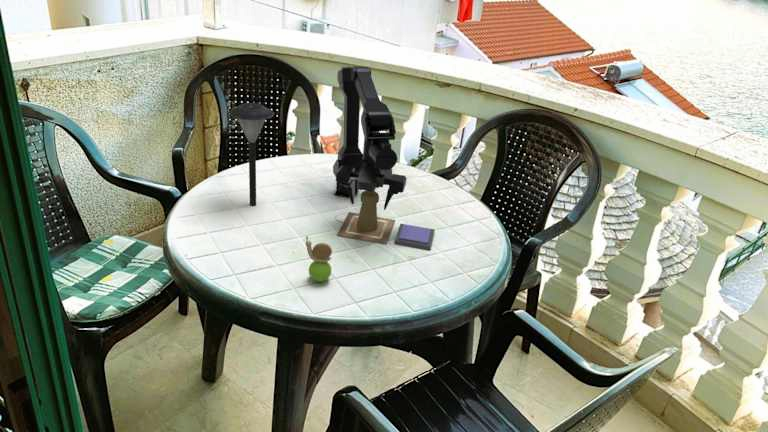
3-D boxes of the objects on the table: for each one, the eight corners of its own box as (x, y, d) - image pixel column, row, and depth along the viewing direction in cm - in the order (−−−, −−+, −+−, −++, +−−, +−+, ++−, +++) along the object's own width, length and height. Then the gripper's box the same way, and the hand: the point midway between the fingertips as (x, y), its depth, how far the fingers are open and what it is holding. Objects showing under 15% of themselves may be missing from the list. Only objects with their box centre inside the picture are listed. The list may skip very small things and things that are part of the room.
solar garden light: (270, 194, 177) (271, 99, 163) (277, 213, 167) (277, 113, 153) (229, 196, 173) (226, 99, 159) (233, 215, 163) (230, 114, 149)
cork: (378, 223, 167) (382, 188, 162) (376, 233, 161) (380, 198, 156) (357, 220, 167) (360, 186, 162) (355, 230, 162) (358, 195, 156)
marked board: (336, 235, 159) (336, 234, 159) (348, 213, 171) (349, 211, 171) (386, 244, 157) (386, 242, 157) (395, 221, 170) (395, 219, 169)
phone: (391, 166, 205) (393, 183, 191) (391, 168, 205) (393, 186, 192) (371, 164, 204) (370, 182, 191) (370, 166, 205) (370, 184, 191)
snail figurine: (304, 273, 142) (306, 230, 136) (330, 273, 142) (333, 232, 137) (303, 285, 137) (305, 242, 131) (330, 286, 138) (333, 243, 132)
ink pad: (394, 244, 158) (394, 238, 157) (400, 227, 167) (400, 221, 166) (430, 250, 157) (430, 245, 156) (434, 233, 166) (434, 227, 165)
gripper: (331, 160, 148) (328, 213, 155) (403, 171, 146) (396, 225, 153) (342, 145, 158) (339, 196, 165) (409, 156, 155) (403, 207, 163)
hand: (368, 206), depth 161 cm, fingers open, 9 cm apart
